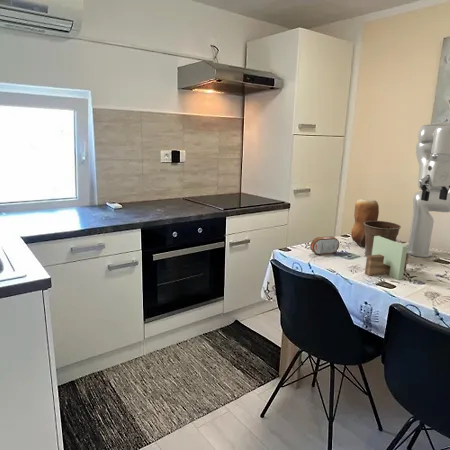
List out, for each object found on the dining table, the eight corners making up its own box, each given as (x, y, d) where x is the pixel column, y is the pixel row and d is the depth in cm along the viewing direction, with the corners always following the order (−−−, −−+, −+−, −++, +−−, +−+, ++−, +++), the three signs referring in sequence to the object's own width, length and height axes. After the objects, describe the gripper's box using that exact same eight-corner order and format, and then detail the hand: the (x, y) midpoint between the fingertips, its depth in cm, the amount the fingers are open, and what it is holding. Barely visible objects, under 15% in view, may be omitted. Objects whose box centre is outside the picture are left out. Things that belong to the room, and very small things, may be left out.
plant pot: (371, 262, 170) (375, 228, 166) (353, 251, 186) (357, 220, 182) (403, 261, 173) (408, 228, 169) (383, 251, 188) (387, 220, 184)
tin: (335, 251, 185) (337, 235, 183) (339, 253, 182) (341, 237, 180) (309, 253, 180) (310, 237, 179) (312, 255, 178) (314, 238, 176)
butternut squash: (361, 240, 206) (367, 196, 200) (382, 247, 195) (388, 200, 189) (344, 243, 199) (349, 197, 194) (364, 250, 188) (370, 202, 182)
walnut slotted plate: (364, 273, 156) (367, 255, 154) (401, 269, 163) (403, 251, 161) (368, 275, 153) (371, 257, 151) (405, 271, 160) (408, 253, 158)
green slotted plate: (370, 266, 165) (374, 236, 162) (374, 265, 166) (378, 235, 162) (398, 279, 150) (403, 246, 147) (402, 278, 151) (407, 246, 148)
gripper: (432, 159, 143) (424, 202, 147) (465, 158, 148) (457, 200, 153) (416, 157, 150) (410, 199, 154) (448, 157, 155) (441, 197, 159)
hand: (433, 200), depth 153 cm, fingers open, 9 cm apart
